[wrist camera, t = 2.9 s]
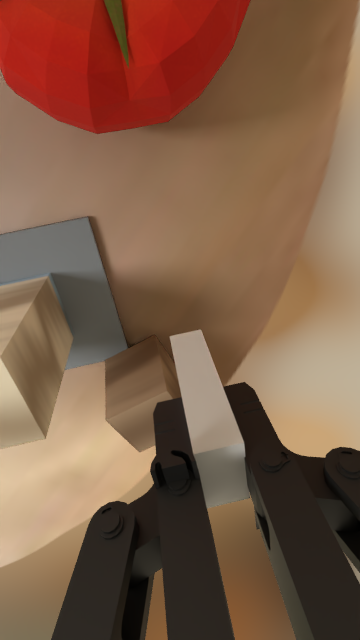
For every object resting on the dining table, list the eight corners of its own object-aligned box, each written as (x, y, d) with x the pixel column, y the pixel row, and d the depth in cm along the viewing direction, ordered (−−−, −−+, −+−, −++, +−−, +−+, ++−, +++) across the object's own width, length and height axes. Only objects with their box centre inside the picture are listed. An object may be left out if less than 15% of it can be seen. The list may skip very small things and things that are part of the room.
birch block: (-24, 288, 22) (-124, 384, 13) (50, 272, 22) (0, 357, 13) (8, 348, 24) (-58, 462, 16) (74, 333, 24) (45, 438, 16)
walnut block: (105, 359, 26) (105, 420, 21) (155, 334, 25) (166, 390, 21) (133, 392, 28) (139, 452, 24) (179, 369, 28) (194, 426, 23)
